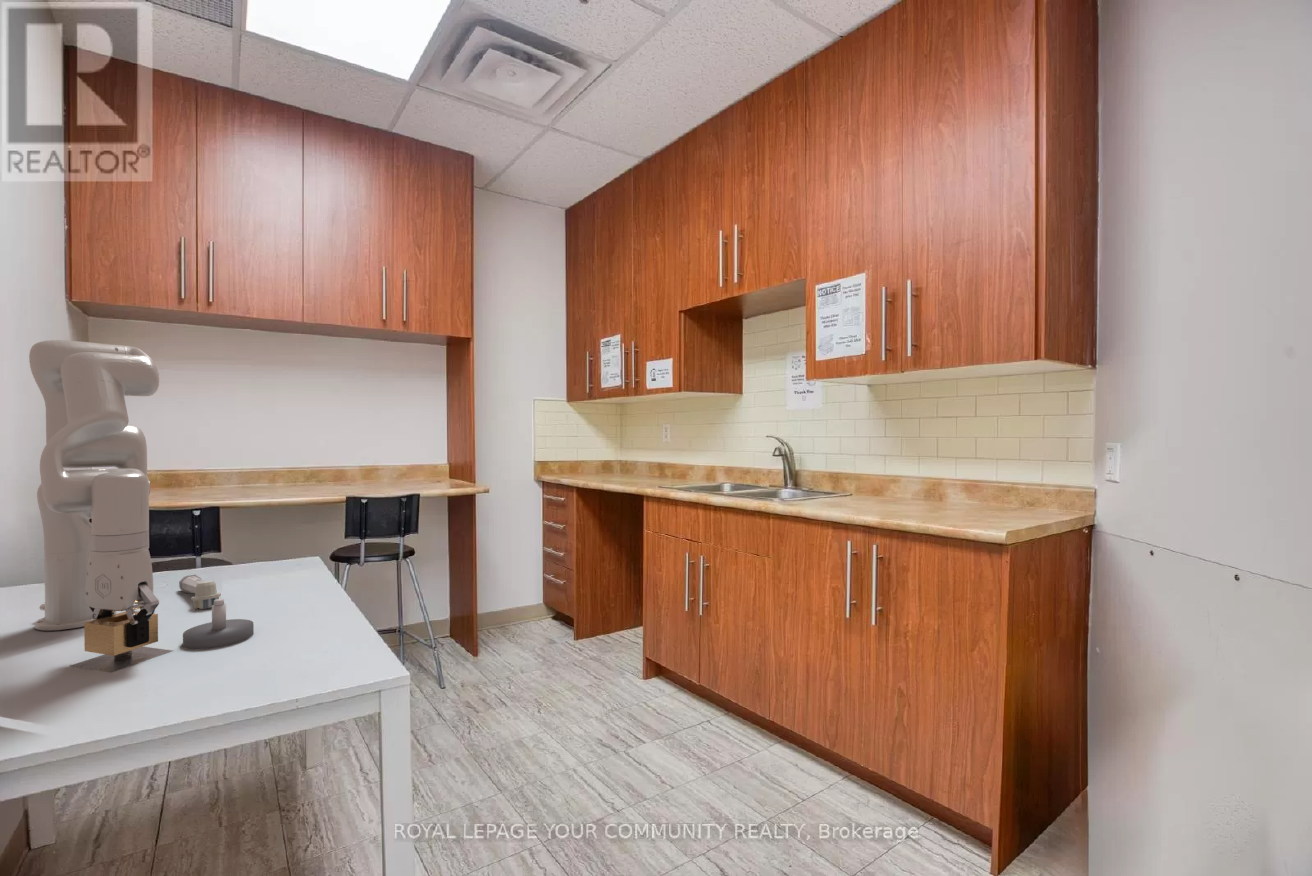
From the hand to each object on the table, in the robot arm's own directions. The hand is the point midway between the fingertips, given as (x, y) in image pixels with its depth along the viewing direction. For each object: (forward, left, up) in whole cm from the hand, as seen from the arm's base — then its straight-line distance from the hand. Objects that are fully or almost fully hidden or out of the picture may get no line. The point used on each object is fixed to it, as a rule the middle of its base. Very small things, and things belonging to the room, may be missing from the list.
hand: (122, 641), depth 105 cm
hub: (+7, +12, -4) cm, 14 cm away
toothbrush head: (-27, +34, -4) cm, 43 cm away
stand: (0, 0, -4) cm, 4 cm away
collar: (0, 0, -1) cm, 1 cm away
